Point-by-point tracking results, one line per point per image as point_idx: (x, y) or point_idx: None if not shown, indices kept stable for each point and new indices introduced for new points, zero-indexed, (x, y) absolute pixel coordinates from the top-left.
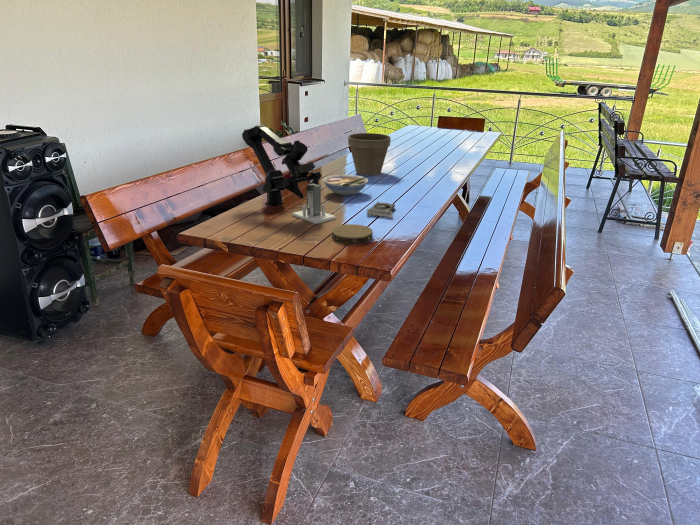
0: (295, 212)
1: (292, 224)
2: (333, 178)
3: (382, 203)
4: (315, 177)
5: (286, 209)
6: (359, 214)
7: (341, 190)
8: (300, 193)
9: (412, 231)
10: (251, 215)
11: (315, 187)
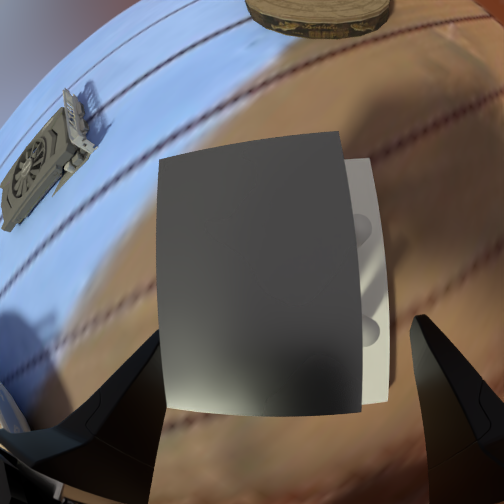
0: (366, 400)
1: (474, 244)
2: None
3: (6, 209)
4: (37, 491)
5: (322, 496)
6: (96, 182)
7: (15, 415)
8: (454, 350)
9: (147, 3)
10: None
11: (301, 142)
